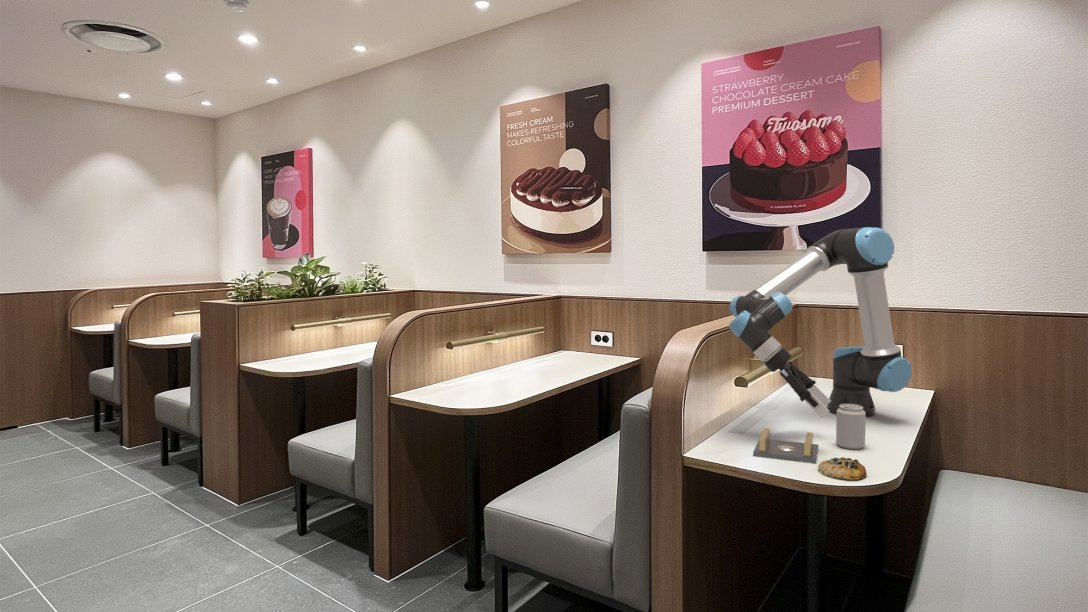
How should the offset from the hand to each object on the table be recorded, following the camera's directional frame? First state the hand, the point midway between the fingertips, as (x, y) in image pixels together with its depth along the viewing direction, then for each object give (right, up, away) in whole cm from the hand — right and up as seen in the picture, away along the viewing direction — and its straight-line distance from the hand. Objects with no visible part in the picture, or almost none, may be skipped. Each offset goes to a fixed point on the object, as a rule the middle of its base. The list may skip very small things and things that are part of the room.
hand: (826, 409), depth 180 cm
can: (+6, -11, -1) cm, 13 cm away
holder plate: (-14, -11, -5) cm, 19 cm away
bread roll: (-7, -13, -23) cm, 27 cm away
